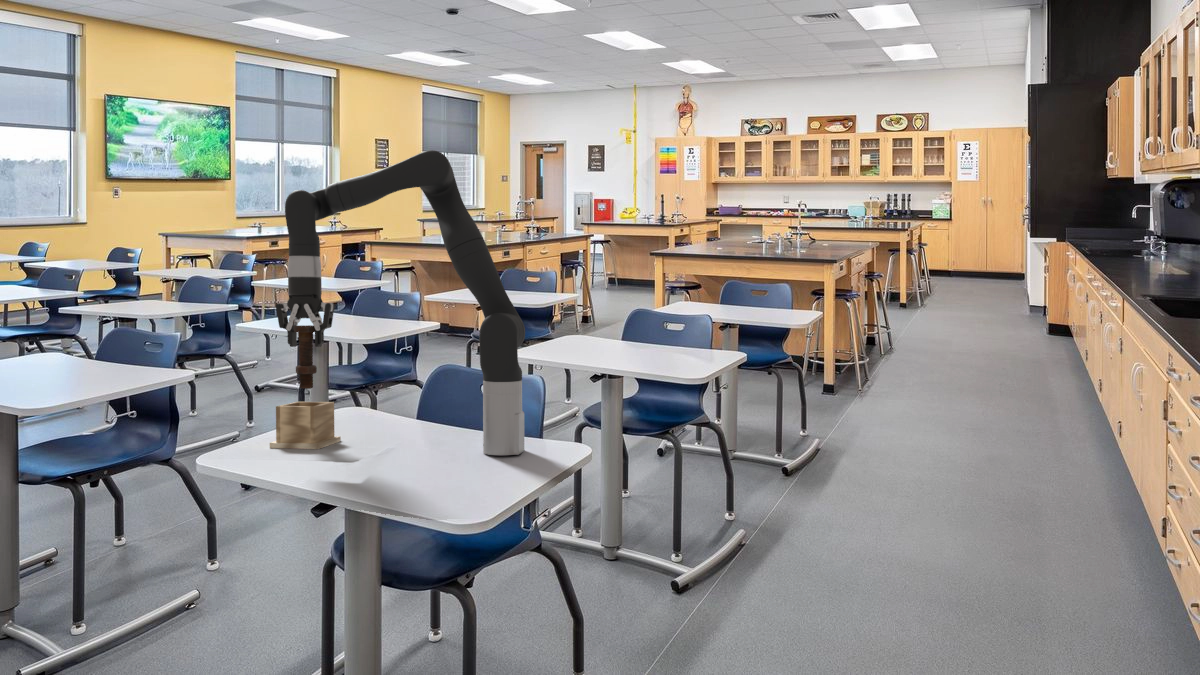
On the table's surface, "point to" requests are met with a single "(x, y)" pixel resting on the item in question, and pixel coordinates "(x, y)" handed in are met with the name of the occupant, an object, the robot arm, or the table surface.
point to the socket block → (305, 425)
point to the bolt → (305, 356)
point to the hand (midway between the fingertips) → (305, 346)
